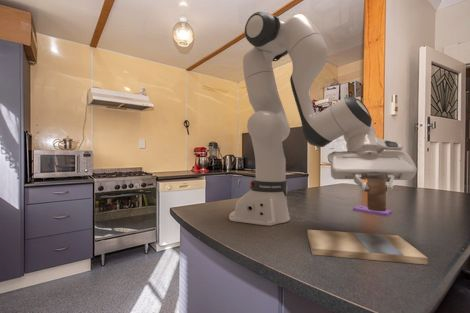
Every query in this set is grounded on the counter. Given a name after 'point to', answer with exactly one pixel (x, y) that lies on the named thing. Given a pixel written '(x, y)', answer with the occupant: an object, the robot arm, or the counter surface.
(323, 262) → the counter surface
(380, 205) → the peg
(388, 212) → the sponges
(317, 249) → the plywood board
